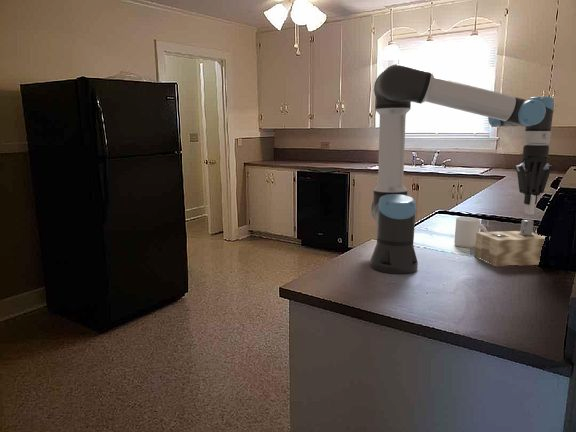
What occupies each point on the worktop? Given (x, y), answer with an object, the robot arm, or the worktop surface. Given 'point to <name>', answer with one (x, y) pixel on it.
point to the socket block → (509, 248)
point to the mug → (467, 231)
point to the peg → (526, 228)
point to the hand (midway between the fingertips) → (529, 213)
